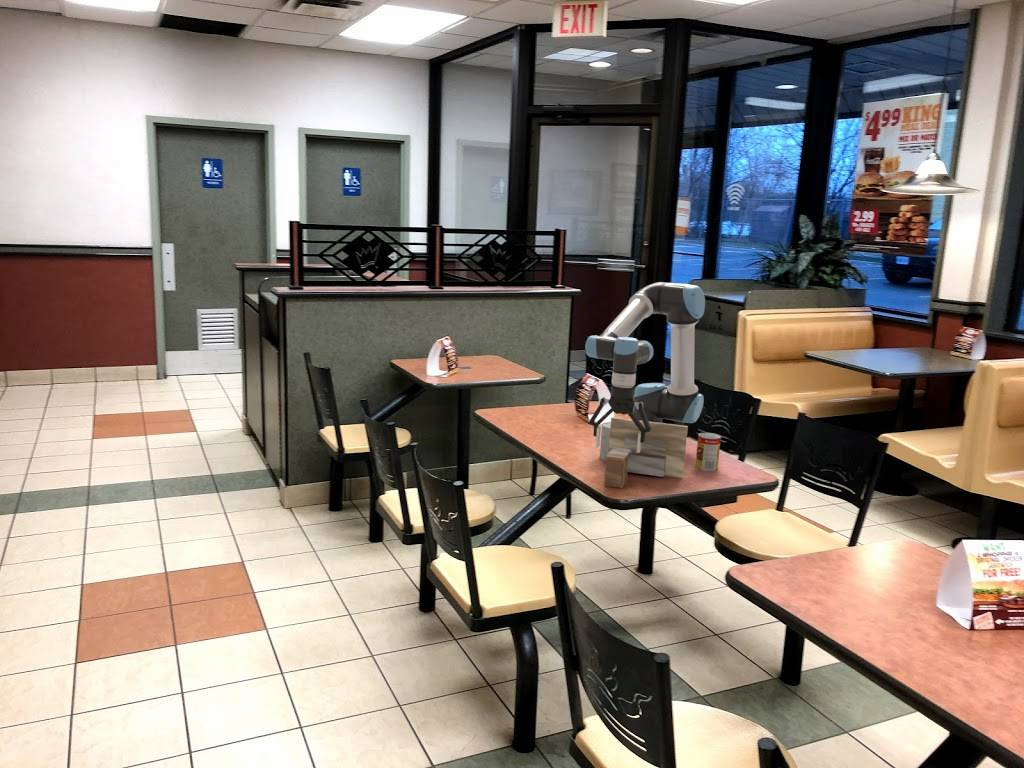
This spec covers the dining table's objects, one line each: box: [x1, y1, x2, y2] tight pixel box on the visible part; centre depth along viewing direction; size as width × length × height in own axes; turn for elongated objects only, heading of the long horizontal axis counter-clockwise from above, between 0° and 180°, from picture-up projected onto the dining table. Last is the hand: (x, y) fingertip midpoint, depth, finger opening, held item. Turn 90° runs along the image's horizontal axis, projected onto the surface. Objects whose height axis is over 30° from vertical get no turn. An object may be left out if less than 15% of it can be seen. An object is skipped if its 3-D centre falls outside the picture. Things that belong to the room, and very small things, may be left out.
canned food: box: [694, 432, 722, 472], centre depth 295 cm, size 8×8×12 cm
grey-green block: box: [598, 421, 611, 462], centre depth 302 cm, size 10×10×12 cm
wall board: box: [609, 416, 689, 479], centre depth 284 cm, size 6×26×18 cm, turn 72°
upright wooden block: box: [603, 448, 631, 489], centre depth 275 cm, size 13×6×10 cm, turn 162°
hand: (617, 449), depth 272 cm, fingers open, 13 cm apart
